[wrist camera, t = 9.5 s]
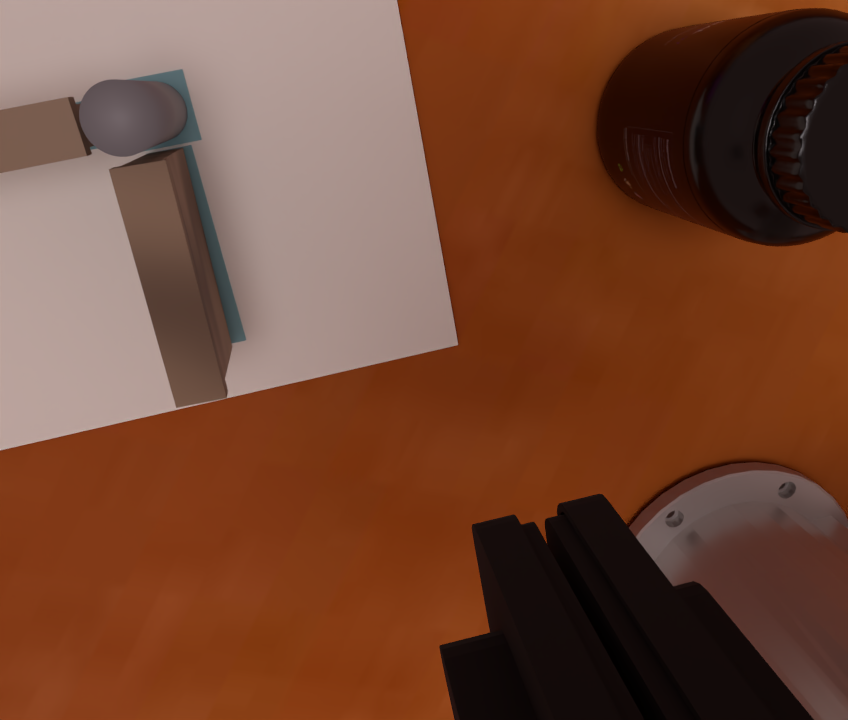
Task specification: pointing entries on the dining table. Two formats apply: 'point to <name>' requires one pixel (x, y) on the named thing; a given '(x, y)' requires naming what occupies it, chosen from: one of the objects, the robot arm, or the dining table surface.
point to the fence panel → (175, 273)
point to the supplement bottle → (737, 125)
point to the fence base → (209, 197)
